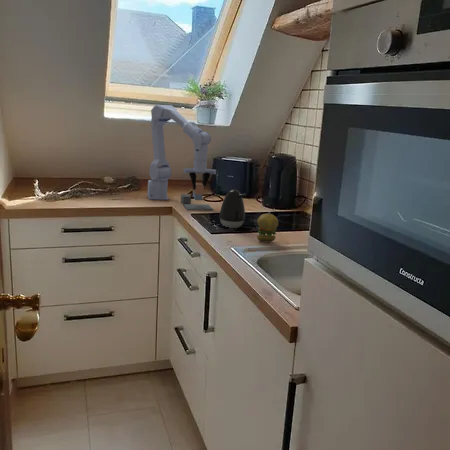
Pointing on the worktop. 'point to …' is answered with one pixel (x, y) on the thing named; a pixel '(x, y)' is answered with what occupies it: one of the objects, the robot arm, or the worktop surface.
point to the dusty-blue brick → (197, 196)
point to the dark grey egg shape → (232, 210)
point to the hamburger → (267, 227)
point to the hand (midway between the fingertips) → (198, 189)
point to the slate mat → (197, 206)
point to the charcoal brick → (185, 199)
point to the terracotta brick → (199, 189)
